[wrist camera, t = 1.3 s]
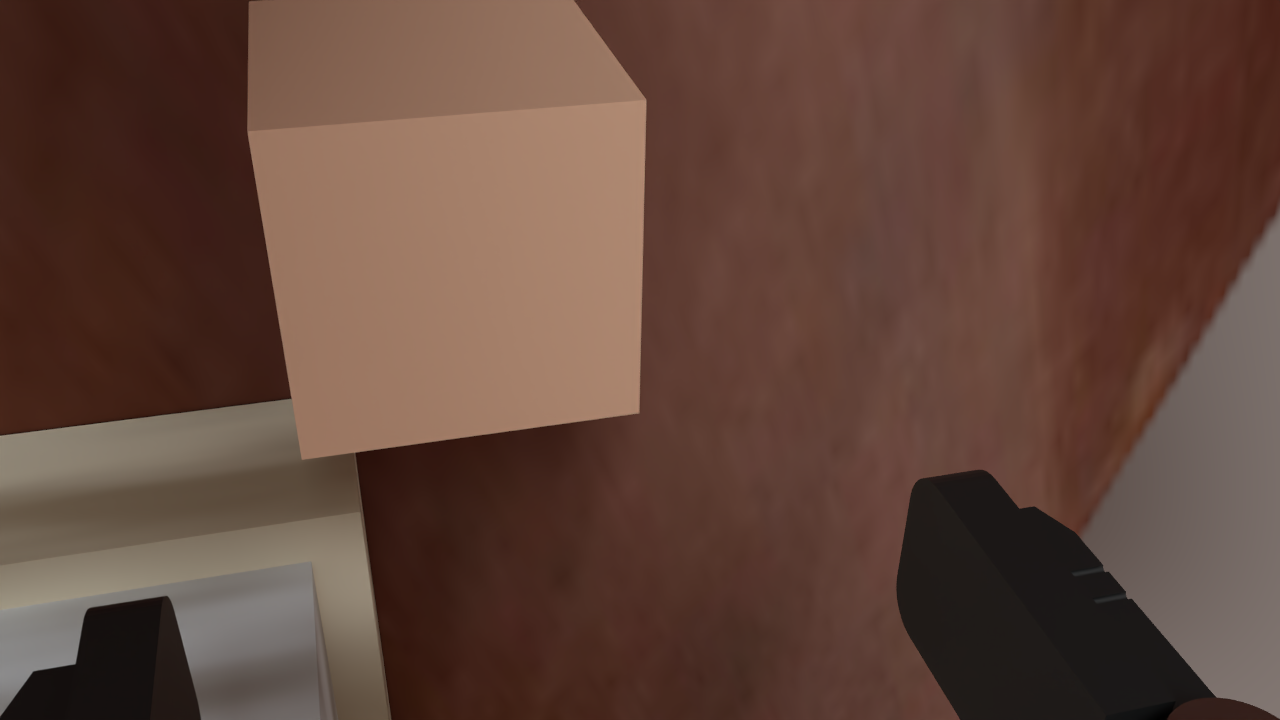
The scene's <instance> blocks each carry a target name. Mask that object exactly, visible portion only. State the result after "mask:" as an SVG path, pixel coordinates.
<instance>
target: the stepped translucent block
mask: <svg viewBox="0 0 1280 720" xmlns="http://www.w3.org/2000/svg"><path fill="white" fill-rule="evenodd" d="M161 596H168V597H169V598H170V600H171V602H172V605H173V608H174V611H175V615H176V619H177V623H178V627H179V630H180V634H181V638H182V642H183V646H184V650H185V654H186V657H187V661H188V665H189V669H190V673H191V677H192V680H193V684H194V688H195V692H196V696H197V700H198V704H199V710H200V716H201V720H391V714H390V706H389V699H388V691H387V684H386V677H385V669H384V662H383V655H382V647H381V640H380V632H379V625H378V618H377V610H376V603H375V596H374V588H373V581H372V573H371V566H370V559H369V551H368V544H367V537H366V529H365V522H364V514H363V507H362V500H361V492H360V485H359V478H358V470H357V463H356V455H355V453H348V454H341V455H334V456H326V457H319V458H312V459H305V460H302V458H301V452H300V446H299V440H298V434H297V428H296V422H295V416H294V410H293V404H292V399H287V400H279V401H271V402H263V403H255V404H247V405H239V406H232V407H224V408H216V409H208V410H200V411H192V412H184V413H177V414H169V415H161V416H153V417H145V418H137V419H129V420H121V421H114V422H106V423H98V424H90V425H82V426H74V427H66V428H58V429H51V430H43V431H35V432H27V433H19V434H11V435H3V436H0V716H1V715H2V713H3V712H4V711H5V709H6V708H7V706H8V705H9V704H10V702H11V701H12V700H13V698H14V697H15V696H16V694H17V693H18V691H19V690H20V689H21V687H22V686H23V685H24V683H25V682H26V681H27V679H28V678H29V676H30V675H31V674H32V672H33V671H37V670H43V669H49V668H55V667H61V666H67V665H73V664H76V659H77V653H78V647H79V642H80V636H81V630H82V625H83V620H84V616H85V613H86V611H87V609H89V608H91V607H97V606H104V605H110V604H116V603H123V602H129V601H135V600H142V599H148V598H155V597H161Z"/></svg>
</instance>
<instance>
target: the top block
mask: <svg viewBox="0 0 1280 720" xmlns="http://www.w3.org/2000/svg"><path fill="white" fill-rule="evenodd" d="M247 132H248V138H249V144H250V150H251V156H252V162H253V169H254V175H255V181H256V187H257V193H258V199H259V205H260V211H261V217H262V223H263V229H264V235H265V241H266V247H267V253H268V259H269V265H270V271H271V277H272V283H273V289H274V295H275V301H276V307H277V313H278V319H279V325H280V331H281V337H282V343H283V349H284V355H285V361H286V367H287V373H288V380H289V386H290V392H291V398H292V404H293V410H294V416H295V422H296V428H297V434H298V440H299V446H300V452H301V458H302V460H305V459H312V458H319V457H326V456H334V455H341V454H348V453H355V452H362V451H370V450H377V449H384V448H391V447H399V446H406V445H413V444H420V443H427V442H435V441H442V440H449V439H456V438H464V437H471V436H478V435H485V434H493V433H500V432H507V431H514V430H521V429H529V428H536V427H543V426H550V425H558V424H565V423H572V422H579V421H586V420H594V419H601V418H608V417H615V416H623V415H630V414H637V413H639V401H640V357H641V313H642V269H643V225H644V182H645V138H646V99H645V97H644V96H643V95H642V93H641V92H640V91H639V89H638V88H637V86H636V85H635V84H634V82H633V81H632V80H631V78H630V77H629V76H628V74H627V73H626V71H625V70H624V69H623V67H622V66H621V65H620V63H619V62H618V60H617V59H616V58H615V56H614V55H613V54H612V52H611V51H610V49H609V48H608V47H607V45H606V44H605V43H604V41H603V40H602V38H601V37H600V36H599V34H598V33H597V32H596V30H595V29H594V28H593V26H592V25H591V23H590V22H589V21H588V19H587V18H586V17H585V15H584V14H583V12H582V11H581V10H580V8H579V7H578V6H577V4H576V3H575V1H574V0H263V1H249V29H248V117H247Z"/></svg>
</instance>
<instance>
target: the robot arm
mask: <svg viewBox="0 0 1280 720" xmlns="http://www.w3.org/2000/svg"><path fill="white" fill-rule="evenodd" d="M897 600H898V606H899V611H900V614H901V618H902V621H903V624H904V626H905V628H906V631H907V633H908V635H909V636H910V638H911V640H912V641H913V643H914V645H915V646H916V648H917V650H918V651H919V653H920V654H921V656H922V658H923V659H924V661H925V663H926V664H927V666H928V668H929V669H930V671H931V672H932V674H933V676H934V677H935V679H936V681H937V682H938V684H939V685H940V687H941V689H942V690H943V692H944V694H945V695H946V697H947V699H948V700H949V702H950V703H951V705H952V707H953V708H954V710H955V712H956V713H957V715H958V716H959V718H960V720H1280V719H1279V718H1277V717H1275V716H1274V715H1272V714H1270V713H1268V712H1266V711H1264V710H1262V709H1260V708H1258V707H1255V706H1253V705H1250V704H1247V703H1244V702H1240V701H1236V700H1231V699H1223V698H1217V697H1216V696H1215V695H1214V694H1213V693H1212V692H1211V691H1210V690H1209V689H1208V687H1207V686H1206V685H1205V684H1204V683H1203V682H1202V681H1201V679H1200V678H1199V677H1198V676H1197V675H1196V673H1195V672H1194V671H1193V670H1192V669H1191V667H1190V666H1189V665H1188V664H1187V663H1186V662H1185V660H1184V659H1183V658H1182V657H1181V656H1180V655H1179V653H1178V652H1177V651H1176V650H1175V649H1174V648H1173V646H1171V644H1170V643H1169V642H1168V641H1167V639H1166V638H1165V637H1164V636H1163V635H1162V634H1161V632H1160V631H1159V630H1158V629H1157V628H1156V627H1155V626H1154V624H1152V622H1151V621H1150V620H1149V618H1148V617H1147V616H1146V615H1145V614H1144V612H1143V611H1142V610H1141V609H1140V608H1139V607H1138V606H1137V604H1136V603H1135V602H1134V601H1133V600H1132V599H1127V597H1126V591H1125V590H1124V589H1123V588H1122V587H1121V586H1120V584H1119V583H1118V582H1117V581H1116V580H1115V579H1114V578H1113V576H1112V575H1111V574H1110V573H1109V572H1104V570H1103V565H1102V563H1101V562H1100V561H1099V560H1098V559H1097V557H1096V556H1095V555H1094V554H1093V553H1092V552H1091V550H1090V549H1089V548H1088V547H1087V546H1086V545H1085V544H1084V542H1083V541H1082V540H1081V539H1080V538H1079V536H1078V535H1077V534H1076V533H1075V532H1074V531H1072V530H1070V529H1069V528H1067V527H1066V526H1064V525H1063V524H1061V523H1059V522H1058V521H1056V520H1055V519H1053V518H1052V517H1050V516H1048V515H1047V514H1045V513H1044V512H1042V511H1041V510H1039V509H1037V508H1036V507H1028V508H1022V509H1019V508H1018V507H1017V505H1016V504H1015V503H1014V502H1013V500H1012V499H1011V498H1010V497H1009V496H1008V494H1007V493H1006V492H1005V491H1004V489H1003V488H1002V487H1001V486H1000V485H999V483H998V482H997V481H996V480H995V478H994V477H993V476H992V475H991V474H989V473H988V472H987V471H984V470H974V471H967V472H961V473H955V474H948V475H942V476H936V477H929V478H923V479H920V480H918V481H917V482H916V483H915V485H914V487H913V489H912V492H911V497H910V503H909V509H908V515H907V521H906V527H905V533H904V539H903V545H902V551H901V557H900V563H899V569H898V575H897ZM0 720H201V716H200V710H199V704H198V700H197V696H196V692H195V688H194V684H193V680H192V677H191V673H190V669H189V665H188V661H187V657H186V654H185V650H184V646H183V642H182V638H181V634H180V630H179V627H178V623H177V619H176V615H175V611H174V608H173V605H172V602H171V600H170V598H169V597H168V596H161V597H155V598H148V599H142V600H135V601H129V602H123V603H116V604H110V605H104V606H97V607H91V608H89V609H87V611H86V613H85V616H84V620H83V625H82V630H81V636H80V642H79V647H78V653H77V659H76V664H73V665H67V666H61V667H55V668H49V669H43V670H37V671H33V672H32V674H31V675H30V676H29V678H28V679H27V681H26V682H25V683H24V685H23V686H22V687H21V689H20V690H19V691H18V693H17V694H16V696H15V697H14V698H13V700H12V701H11V702H10V704H9V705H8V706H7V708H6V709H5V711H4V712H3V713H2V715H1V716H0Z"/></svg>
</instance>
